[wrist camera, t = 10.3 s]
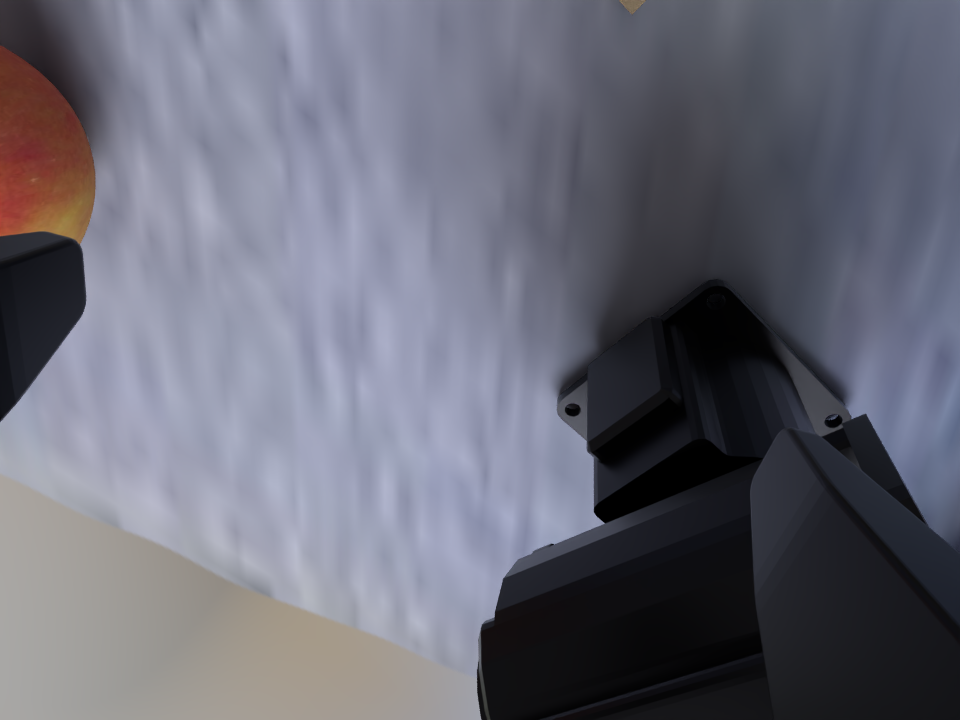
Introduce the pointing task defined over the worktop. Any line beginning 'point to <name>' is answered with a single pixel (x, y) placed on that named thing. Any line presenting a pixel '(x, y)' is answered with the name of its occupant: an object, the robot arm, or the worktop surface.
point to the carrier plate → (632, 4)
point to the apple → (41, 156)
